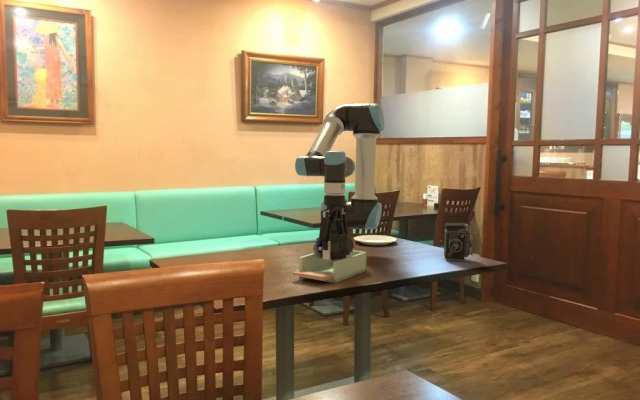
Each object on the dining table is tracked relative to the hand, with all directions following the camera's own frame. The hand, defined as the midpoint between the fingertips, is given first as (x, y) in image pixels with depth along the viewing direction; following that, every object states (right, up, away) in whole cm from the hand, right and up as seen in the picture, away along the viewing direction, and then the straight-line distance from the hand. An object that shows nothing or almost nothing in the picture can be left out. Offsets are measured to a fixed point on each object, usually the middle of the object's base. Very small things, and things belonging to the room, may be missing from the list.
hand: (333, 256), depth 182 cm
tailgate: (-6, -5, -8) cm, 11 cm away
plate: (+22, -1, +65) cm, 69 cm away
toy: (+1, -1, 0) cm, 1 cm away
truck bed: (0, -6, +1) cm, 6 cm away
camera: (+52, -4, +27) cm, 58 cm away
